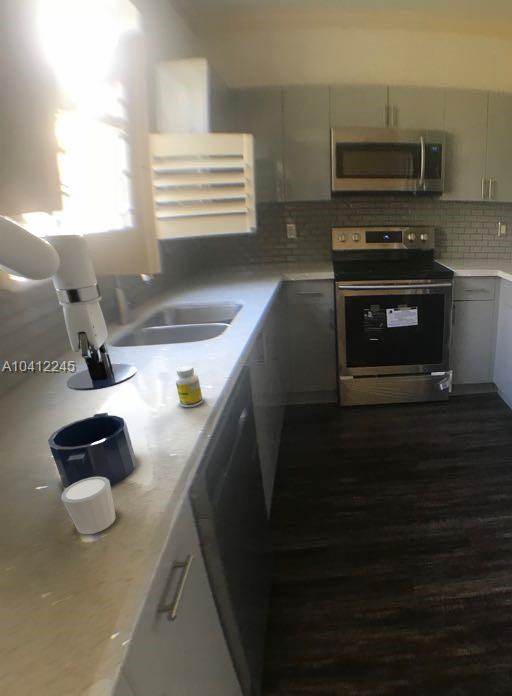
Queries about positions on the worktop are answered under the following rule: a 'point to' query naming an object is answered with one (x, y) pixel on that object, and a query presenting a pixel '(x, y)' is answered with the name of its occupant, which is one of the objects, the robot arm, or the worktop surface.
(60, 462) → the pot
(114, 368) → the pot lid
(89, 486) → the white cup
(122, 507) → the worktop surface
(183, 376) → the supplement bottle
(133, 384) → the worktop surface
